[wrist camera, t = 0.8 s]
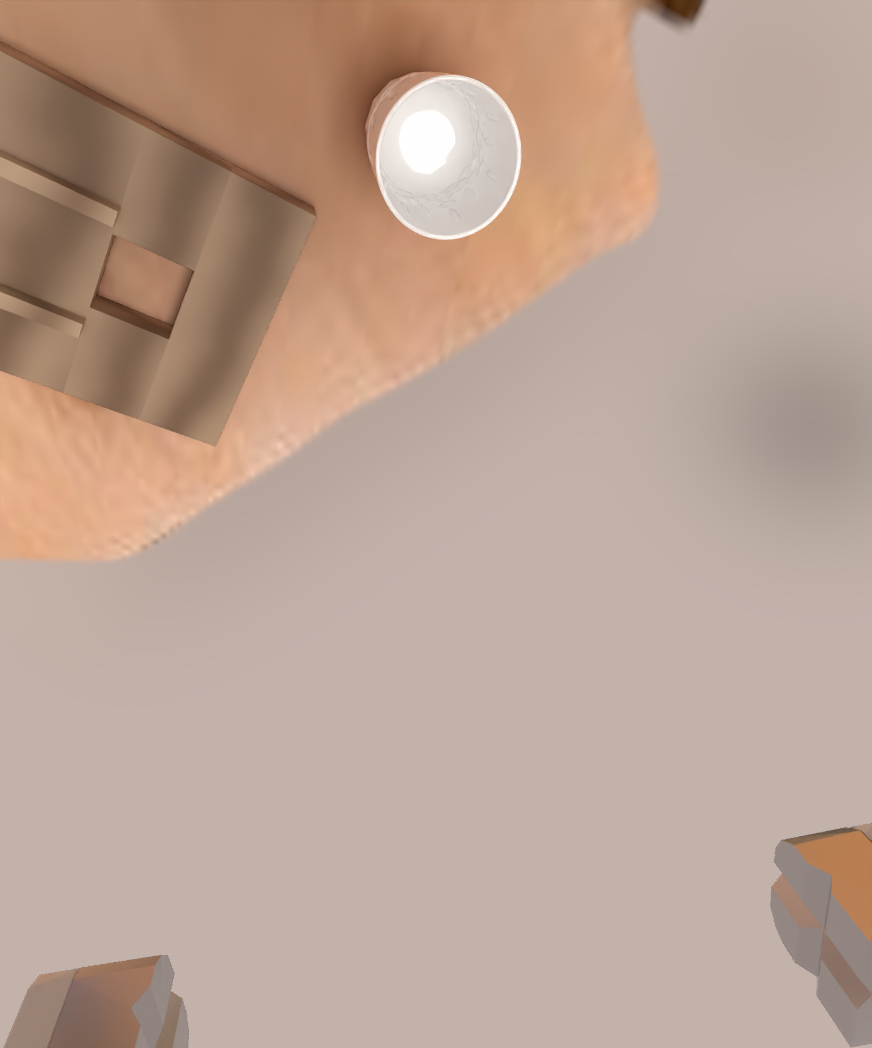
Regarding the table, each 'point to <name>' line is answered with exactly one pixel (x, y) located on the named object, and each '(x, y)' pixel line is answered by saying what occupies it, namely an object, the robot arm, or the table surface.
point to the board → (147, 221)
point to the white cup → (443, 152)
